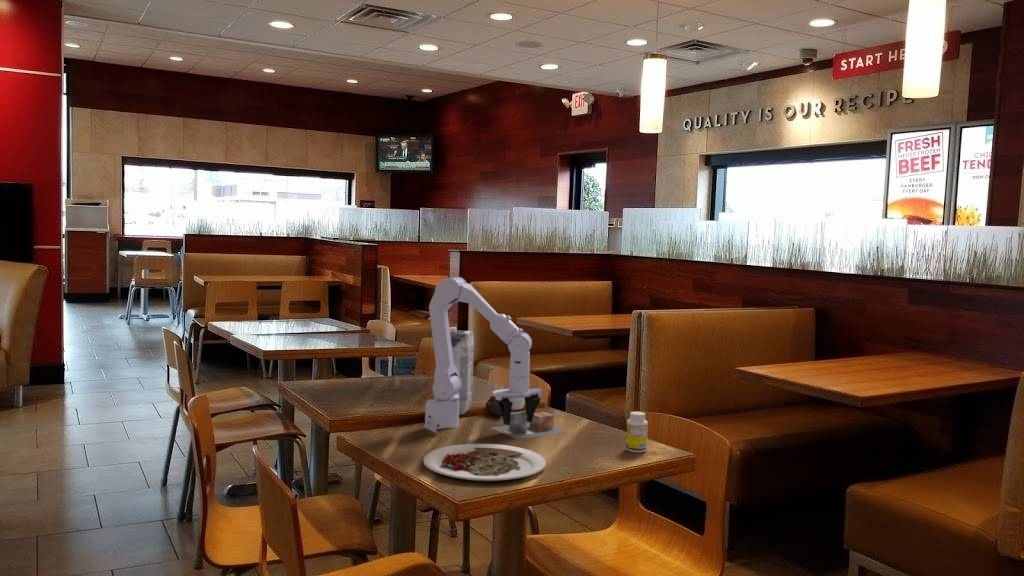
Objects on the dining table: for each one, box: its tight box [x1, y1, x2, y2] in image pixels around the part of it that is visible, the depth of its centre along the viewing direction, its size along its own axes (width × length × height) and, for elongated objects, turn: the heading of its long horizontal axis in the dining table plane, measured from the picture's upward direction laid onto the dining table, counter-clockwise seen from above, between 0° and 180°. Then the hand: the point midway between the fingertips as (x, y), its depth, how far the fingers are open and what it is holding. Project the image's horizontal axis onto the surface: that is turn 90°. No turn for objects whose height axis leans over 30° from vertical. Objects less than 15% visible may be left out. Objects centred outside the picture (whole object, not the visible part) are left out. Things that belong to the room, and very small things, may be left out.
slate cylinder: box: [509, 411, 528, 433], centre depth 224 cm, size 5×5×5 cm
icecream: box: [484, 395, 502, 416], centre depth 244 cm, size 7×7×15 cm
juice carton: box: [449, 326, 475, 416], centre depth 250 cm, size 9×10×27 cm
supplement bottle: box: [625, 411, 649, 454], centre depth 212 cm, size 6×6×10 cm
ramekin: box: [492, 388, 525, 411], centre depth 259 cm, size 11×11×5 cm
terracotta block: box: [529, 411, 555, 431], centre depth 229 cm, size 5×5×4 cm
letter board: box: [490, 422, 569, 440], centre depth 227 cm, size 18×14×1 cm
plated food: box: [422, 443, 547, 482], centre depth 193 cm, size 30×30×3 cm
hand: (517, 422), depth 224 cm, fingers open, 7 cm apart
